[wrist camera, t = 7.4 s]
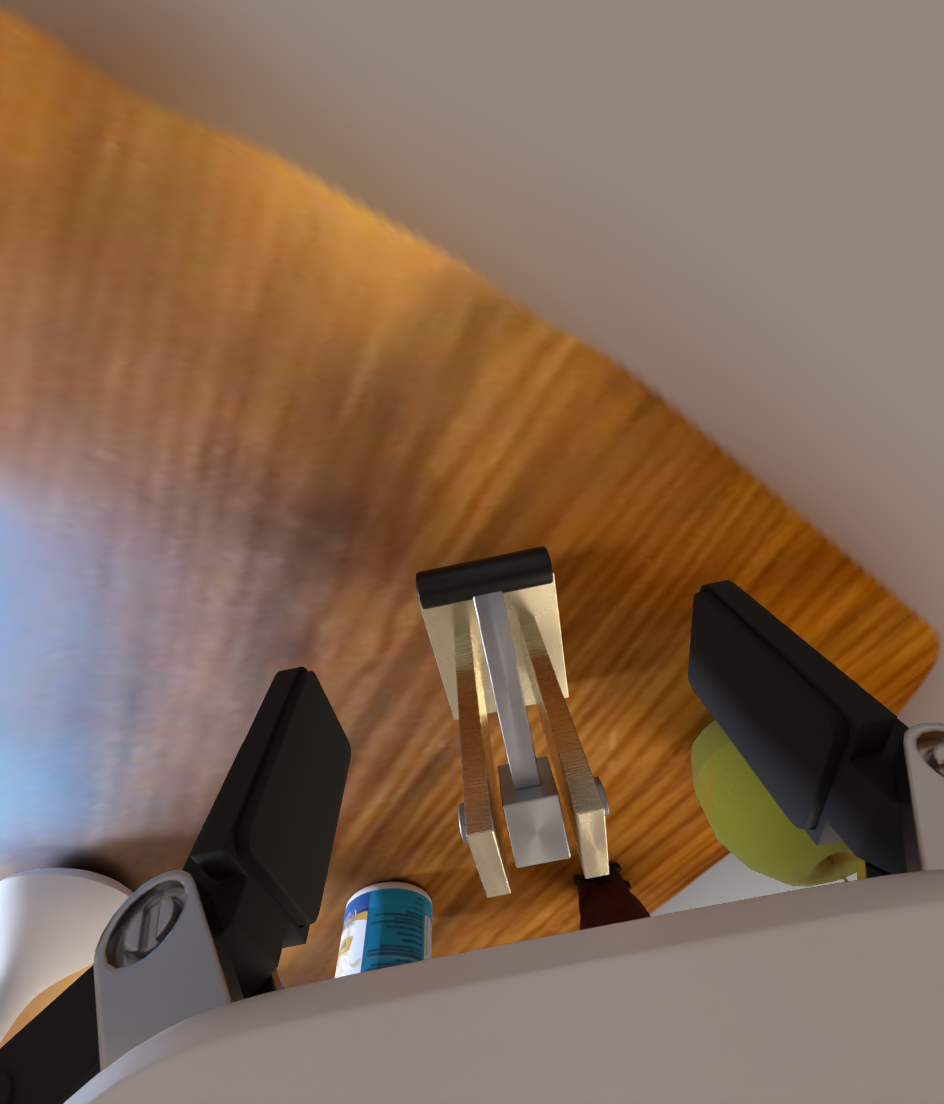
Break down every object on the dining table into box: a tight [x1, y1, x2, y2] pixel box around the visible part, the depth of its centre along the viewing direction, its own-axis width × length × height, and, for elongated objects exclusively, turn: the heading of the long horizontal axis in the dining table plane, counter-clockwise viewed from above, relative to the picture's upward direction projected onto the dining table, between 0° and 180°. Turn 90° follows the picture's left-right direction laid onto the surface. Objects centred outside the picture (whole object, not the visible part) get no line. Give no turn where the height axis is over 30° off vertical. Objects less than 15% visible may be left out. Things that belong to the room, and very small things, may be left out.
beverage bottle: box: [335, 882, 432, 978], centre depth 31 cm, size 8×8×20 cm
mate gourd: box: [573, 863, 651, 930], centre depth 35 cm, size 8×8×15 cm
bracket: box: [418, 571, 609, 898], centre depth 21 cm, size 10×8×13 cm
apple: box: [691, 720, 857, 886], centre depth 28 cm, size 10×10×11 cm
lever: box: [416, 546, 571, 868], centre depth 17 cm, size 12×5×2 cm, turn 11°
